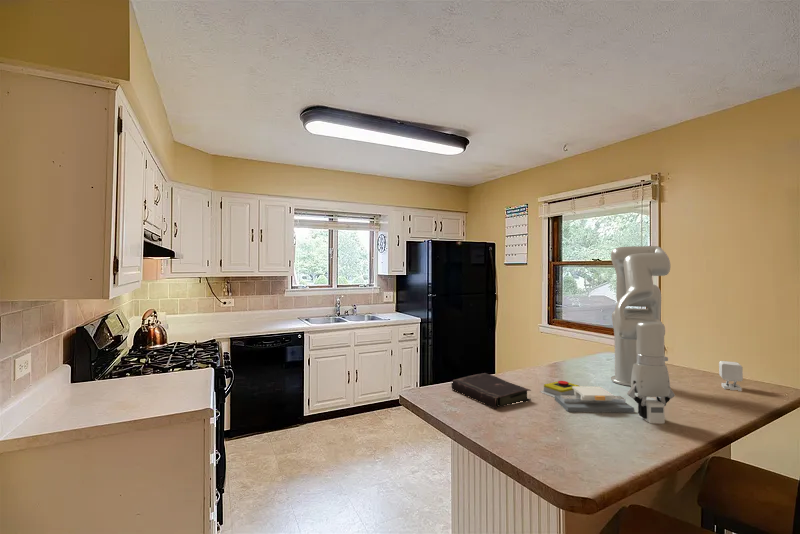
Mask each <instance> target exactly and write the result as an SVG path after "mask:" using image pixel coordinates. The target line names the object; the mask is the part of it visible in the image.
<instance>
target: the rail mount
mask: <svg viewBox="0 0 800 534" xmlns="http://www.w3.org/2000/svg"><path fill="white" fill-rule="evenodd" d="M554 401H555V402H557V403H558V404H559V405H560V406H561V408H563V409H564V410H565V411H566V412H568V413H570V412H571V413H574V412H575V413H584V412H585V413H635V407H633V406H632V405H630V404H629V403H627V402H626V398H624V397H623V396H621V395H614V398H612V401H600V400H581V395H573V396H571V395H561V396H555V398H554Z"/></svg>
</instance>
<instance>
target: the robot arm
mask: <svg viewBox="0 0 800 534" xmlns="http://www.w3.org/2000/svg"><path fill="white" fill-rule="evenodd" d="M610 258H611V259H610V260H611V263H612V265H613V268H614V270H615V274H616V281H615V282H616V283H615V284H616V285H615V287H616V288H615V293H616V295H615V298H616V301H617V303H616V306H615V309H614V310H613V311H612V313H611V321H612V327H613V335H614V336H613V337H614V375H613V376H611V377H610V381H611V382H613V383H615V384H619V385H623V386H626V387H627V386H628V387H629V386H630V388H629V389H628V391H627V392H626V394H627V395H628V396H629V397H630V398H632V399H633V400H634V401H635V402H636V403H637V411H638V416H639V415H640V416H641V417H642V418H644V419H647V407H646V406H645V402H646V398H655V400H657V401H659V402H661V403H663V404H664V407H666V406H667V403H669V402H670V400H672V399H673V398H674V397H675V396H676V394H675V393H674V391H673V390H672V389H671V382H670V375H669V370H668V367H667V365H665V364H666V362H668V361H669V357H668V356H665V335H666V327H665V325H664V323H663V322H662V321H661V318H662V315H661V314H662V291H661V290H660V288H659V287H660V286H657V285H656V284H654V281H653V277H664V276H668V275H669V273H670V271H671V261H670V258H669V256H668V254H667V253H666V251H665V250H664V249H663V248H662V247H660V246H657V245H647V246H646V245H640V246H639V245H638V246H637V245H634V246H618V247H615V248H612V250H611V252H610ZM629 307H631V308H629ZM634 307H637V308H634ZM638 307H641V308H638ZM642 307H643V308H642ZM644 307H645V308H644ZM636 394H637V395H636ZM641 417H640V418H641ZM642 418H641V419H642ZM644 419H643V420H644Z"/></svg>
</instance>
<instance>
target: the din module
mask: <svg viewBox="0 0 800 534" xmlns="http://www.w3.org/2000/svg"><path fill="white" fill-rule="evenodd" d="M645 406H646V407H647V419H644V418H643V419H642V417H641V416H640V415H639V414H638V417H639V416H640V417H639V418H641V419H642V420H644V421H646V422H647V423H649V424H665V423H666V422H665V419H666V418H665V406H664V404H663V403H661V402H659V401H657V400H656V398H655V397H647V398H646V402H645Z"/></svg>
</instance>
